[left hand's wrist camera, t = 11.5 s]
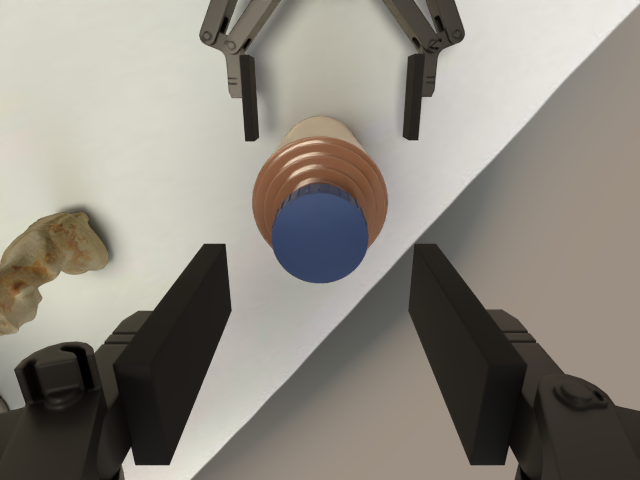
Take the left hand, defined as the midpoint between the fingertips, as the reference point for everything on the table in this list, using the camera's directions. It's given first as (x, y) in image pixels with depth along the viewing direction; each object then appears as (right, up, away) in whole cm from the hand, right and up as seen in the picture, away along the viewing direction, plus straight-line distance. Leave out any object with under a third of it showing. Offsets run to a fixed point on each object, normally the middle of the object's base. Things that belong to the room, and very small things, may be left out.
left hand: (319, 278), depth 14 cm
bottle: (0, +10, +26) cm, 28 cm away
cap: (0, +2, +4) cm, 4 cm away
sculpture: (-26, +2, +30) cm, 39 cm away
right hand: (+1, +10, +20) cm, 22 cm away
